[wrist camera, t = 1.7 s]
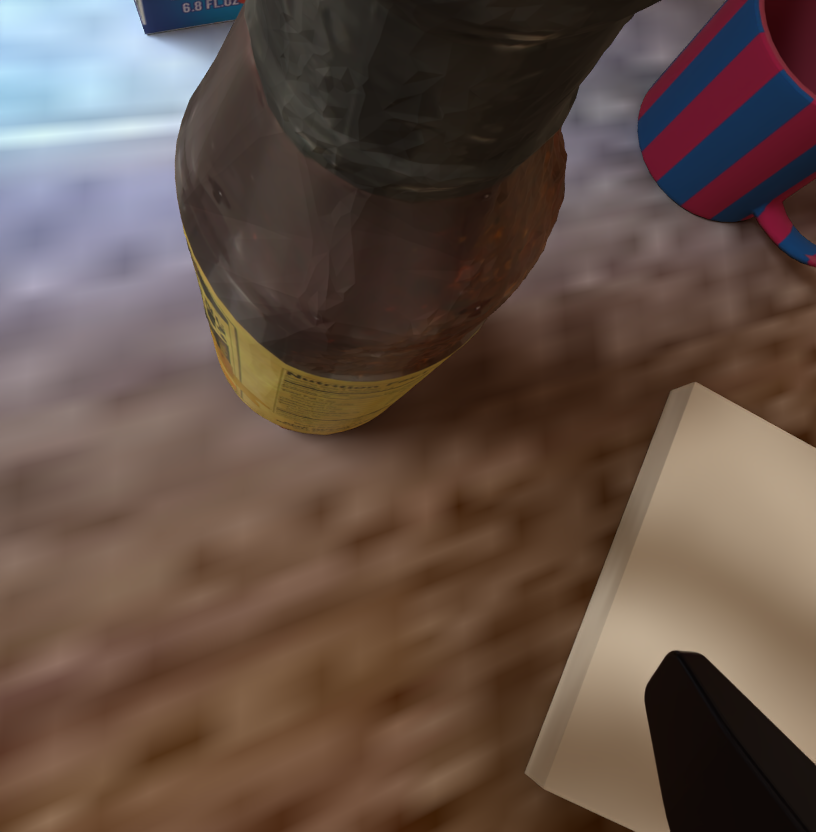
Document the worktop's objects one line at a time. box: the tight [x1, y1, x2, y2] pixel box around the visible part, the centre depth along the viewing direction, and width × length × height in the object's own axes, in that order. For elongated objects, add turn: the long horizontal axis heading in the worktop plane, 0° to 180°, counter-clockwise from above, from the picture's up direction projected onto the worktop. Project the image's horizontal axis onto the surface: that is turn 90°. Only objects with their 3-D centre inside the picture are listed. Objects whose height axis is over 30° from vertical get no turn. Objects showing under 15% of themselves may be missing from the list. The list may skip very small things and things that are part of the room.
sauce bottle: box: [175, 0, 661, 435], centre depth 14 cm, size 6×6×20 cm
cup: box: [638, 0, 816, 267], centre depth 25 cm, size 7×10×7 cm
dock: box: [525, 382, 816, 832], centre depth 24 cm, size 14×12×2 cm
